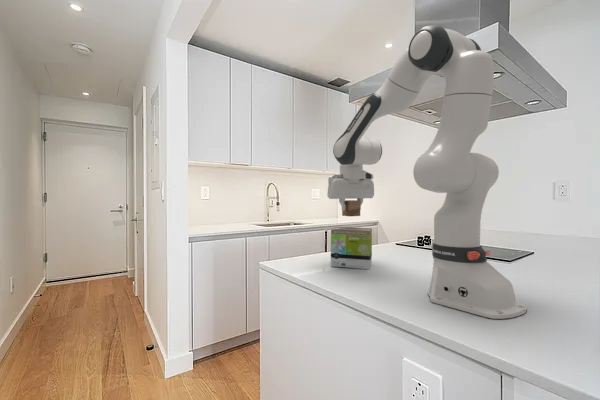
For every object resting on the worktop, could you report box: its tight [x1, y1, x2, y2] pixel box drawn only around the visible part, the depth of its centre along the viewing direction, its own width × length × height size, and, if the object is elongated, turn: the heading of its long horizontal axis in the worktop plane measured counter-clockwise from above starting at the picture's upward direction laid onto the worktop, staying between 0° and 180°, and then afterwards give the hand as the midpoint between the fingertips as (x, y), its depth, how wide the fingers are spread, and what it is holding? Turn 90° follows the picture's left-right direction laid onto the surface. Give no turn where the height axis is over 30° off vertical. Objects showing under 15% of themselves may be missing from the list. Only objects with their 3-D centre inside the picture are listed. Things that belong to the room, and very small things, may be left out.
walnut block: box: [341, 199, 361, 217], centre depth 122 cm, size 5×5×6 cm
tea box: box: [330, 226, 373, 270], centre depth 122 cm, size 15×10×15 cm, turn 73°
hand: (351, 210), depth 122 cm, fingers closed on walnut block, 5 cm apart
